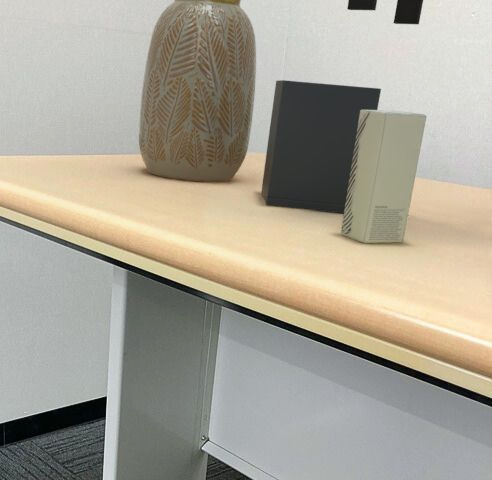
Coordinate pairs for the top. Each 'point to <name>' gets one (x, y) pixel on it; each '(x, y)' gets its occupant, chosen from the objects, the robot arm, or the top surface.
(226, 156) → the vase
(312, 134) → the dark grey block
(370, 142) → the box
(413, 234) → the top surface
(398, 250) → the top surface
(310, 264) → the top surface
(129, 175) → the top surface
